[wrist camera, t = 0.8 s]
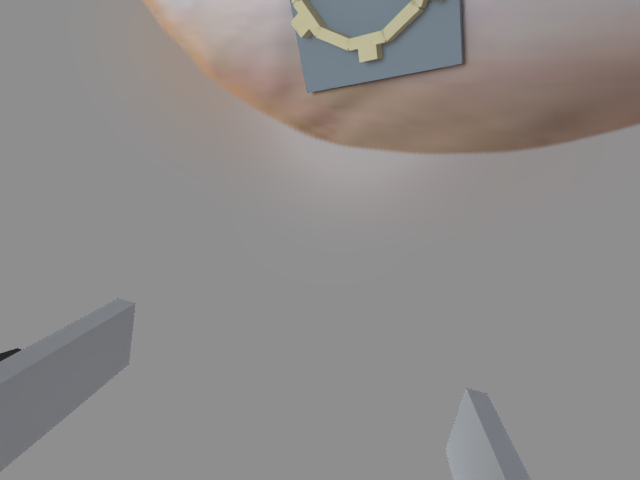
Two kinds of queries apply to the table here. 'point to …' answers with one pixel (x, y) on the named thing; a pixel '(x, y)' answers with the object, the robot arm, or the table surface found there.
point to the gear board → (375, 39)
